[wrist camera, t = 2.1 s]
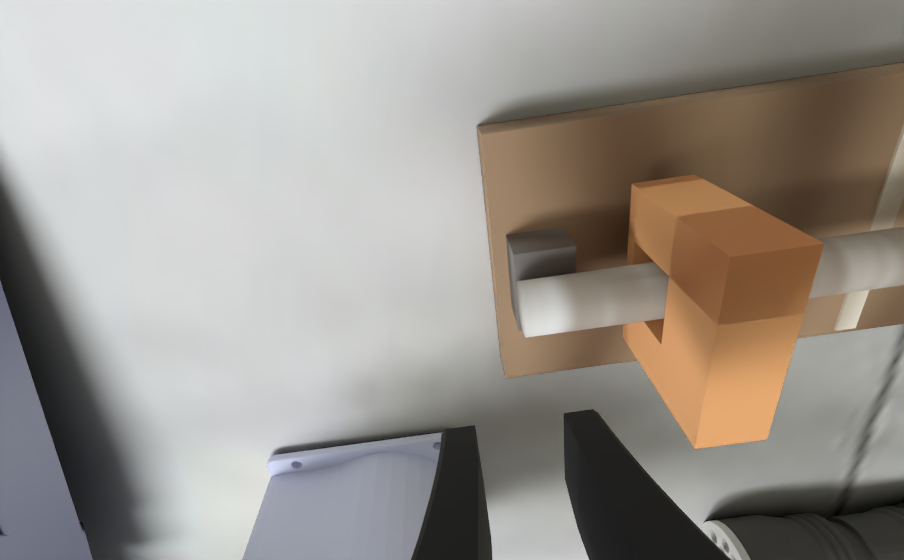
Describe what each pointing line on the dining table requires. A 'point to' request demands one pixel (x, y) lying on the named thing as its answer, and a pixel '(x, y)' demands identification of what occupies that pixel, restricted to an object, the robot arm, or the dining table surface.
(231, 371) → the dining table surface
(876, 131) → the pipe stand
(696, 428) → the collar
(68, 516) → the grey flat slab
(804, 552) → the flashlight
